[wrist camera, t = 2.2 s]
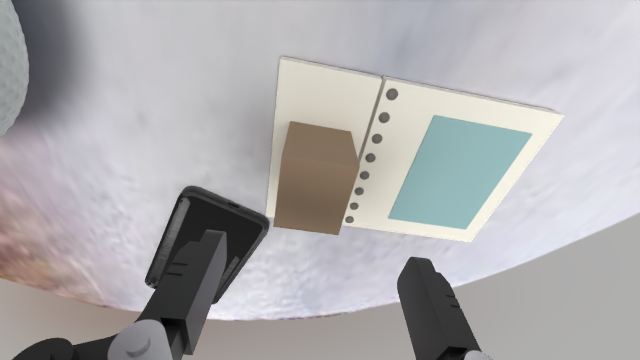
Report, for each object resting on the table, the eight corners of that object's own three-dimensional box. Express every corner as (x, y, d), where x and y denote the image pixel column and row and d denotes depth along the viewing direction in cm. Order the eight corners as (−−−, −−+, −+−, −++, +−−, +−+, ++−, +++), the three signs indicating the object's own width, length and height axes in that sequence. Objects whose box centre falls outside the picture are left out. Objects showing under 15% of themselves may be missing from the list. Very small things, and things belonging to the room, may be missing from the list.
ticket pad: (339, 216, 23) (340, 225, 22) (383, 75, 16) (386, 80, 15) (465, 234, 24) (470, 243, 23) (552, 110, 17) (566, 116, 16)
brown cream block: (267, 208, 22) (254, 261, 17) (282, 56, 15) (266, 77, 11) (336, 218, 23) (340, 271, 18) (379, 75, 16) (403, 103, 11)
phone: (142, 285, 27) (182, 187, 20) (148, 275, 28) (188, 179, 21) (215, 306, 29) (273, 226, 22) (218, 297, 30) (275, 217, 23)
